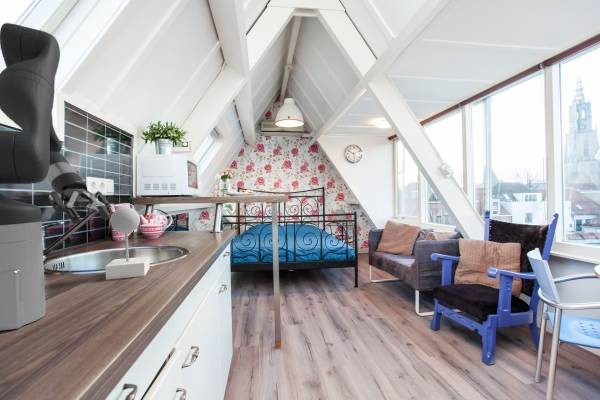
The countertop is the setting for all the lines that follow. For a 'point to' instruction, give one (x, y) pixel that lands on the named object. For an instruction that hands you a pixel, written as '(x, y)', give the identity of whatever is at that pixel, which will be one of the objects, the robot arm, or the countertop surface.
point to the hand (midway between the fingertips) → (93, 219)
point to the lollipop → (125, 223)
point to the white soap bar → (127, 268)
